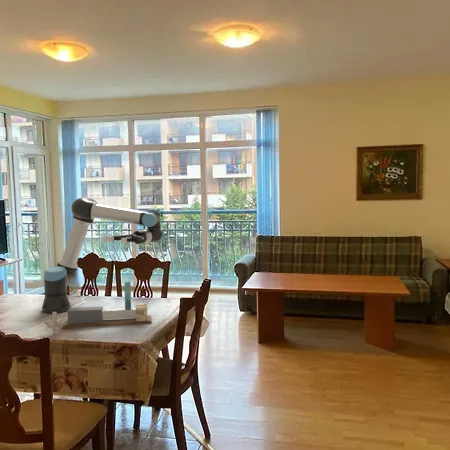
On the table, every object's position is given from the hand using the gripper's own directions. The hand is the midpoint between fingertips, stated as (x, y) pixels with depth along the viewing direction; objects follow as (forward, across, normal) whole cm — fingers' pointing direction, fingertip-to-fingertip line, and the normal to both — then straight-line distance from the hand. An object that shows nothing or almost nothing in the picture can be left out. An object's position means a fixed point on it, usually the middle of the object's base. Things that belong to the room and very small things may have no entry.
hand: (112, 240), depth 240 cm
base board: (+12, -9, -40) cm, 43 cm away
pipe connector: (+38, -3, -40) cm, 55 cm away
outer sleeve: (+19, -1, -39) cm, 43 cm away
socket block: (0, -21, -39) cm, 44 cm away
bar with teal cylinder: (+8, -12, -38) cm, 40 cm away
